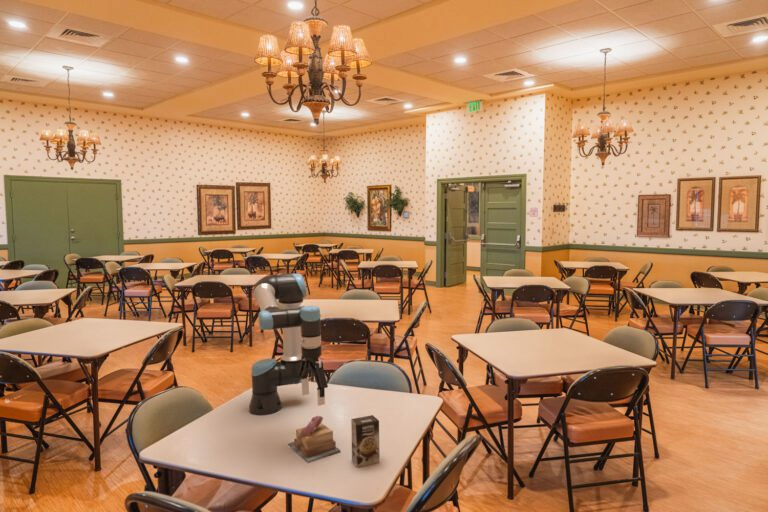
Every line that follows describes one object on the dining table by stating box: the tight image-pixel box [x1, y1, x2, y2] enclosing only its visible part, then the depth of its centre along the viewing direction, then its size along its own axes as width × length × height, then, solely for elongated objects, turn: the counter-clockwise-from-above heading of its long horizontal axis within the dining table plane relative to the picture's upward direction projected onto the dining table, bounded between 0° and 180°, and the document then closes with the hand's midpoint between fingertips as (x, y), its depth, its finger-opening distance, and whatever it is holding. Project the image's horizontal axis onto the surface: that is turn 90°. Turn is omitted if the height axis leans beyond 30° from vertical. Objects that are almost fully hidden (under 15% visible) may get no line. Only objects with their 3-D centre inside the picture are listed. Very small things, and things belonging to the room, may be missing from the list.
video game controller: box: [301, 415, 324, 435], centre depth 192 cm, size 10×5×7 cm, turn 162°
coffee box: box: [350, 414, 381, 468], centre depth 183 cm, size 9×6×16 cm
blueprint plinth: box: [287, 422, 341, 464], centre depth 194 cm, size 18×14×8 cm
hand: (313, 399), depth 192 cm, fingers open, 13 cm apart
